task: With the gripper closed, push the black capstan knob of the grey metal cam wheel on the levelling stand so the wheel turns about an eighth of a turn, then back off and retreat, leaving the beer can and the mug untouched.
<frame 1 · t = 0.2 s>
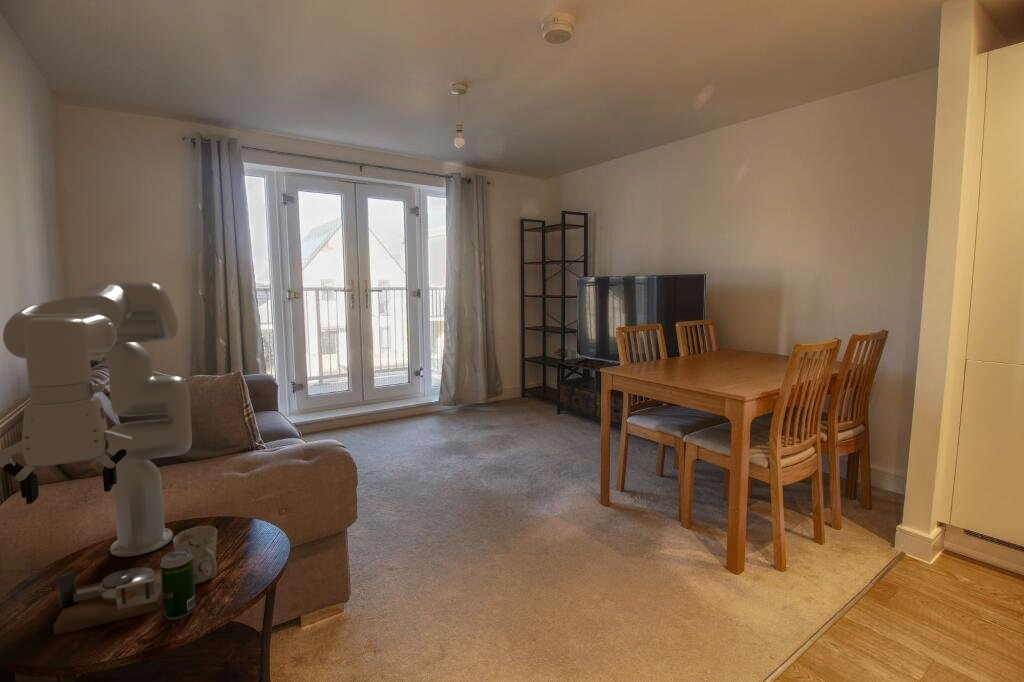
hand: (72, 494, 81), 31 cm above the table, tool pointing down, fingers open, 9 cm apart
mug: (203, 580, 110), on the table
beer can: (180, 612, 99), on the table
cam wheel: (107, 581, 100), point 5 cm above the table, hinge at 0.0°
levelling stand: (116, 603, 101), on the table
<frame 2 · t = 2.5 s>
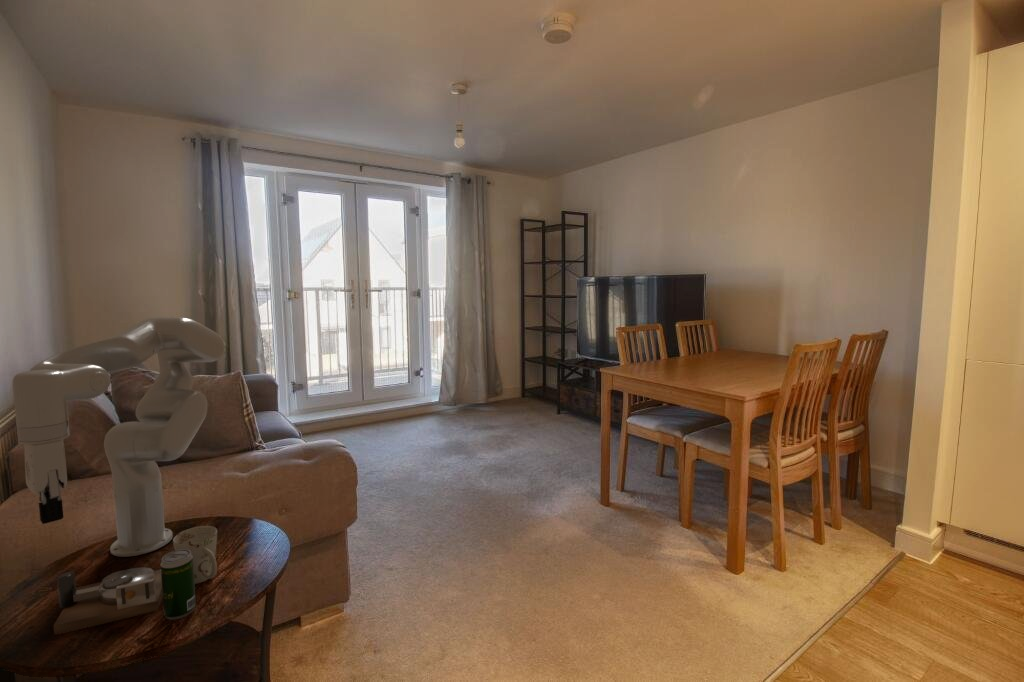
hand: (52, 520, 99), 18 cm above the table, tool pointing down, fingers closed
nothing on the table moved.
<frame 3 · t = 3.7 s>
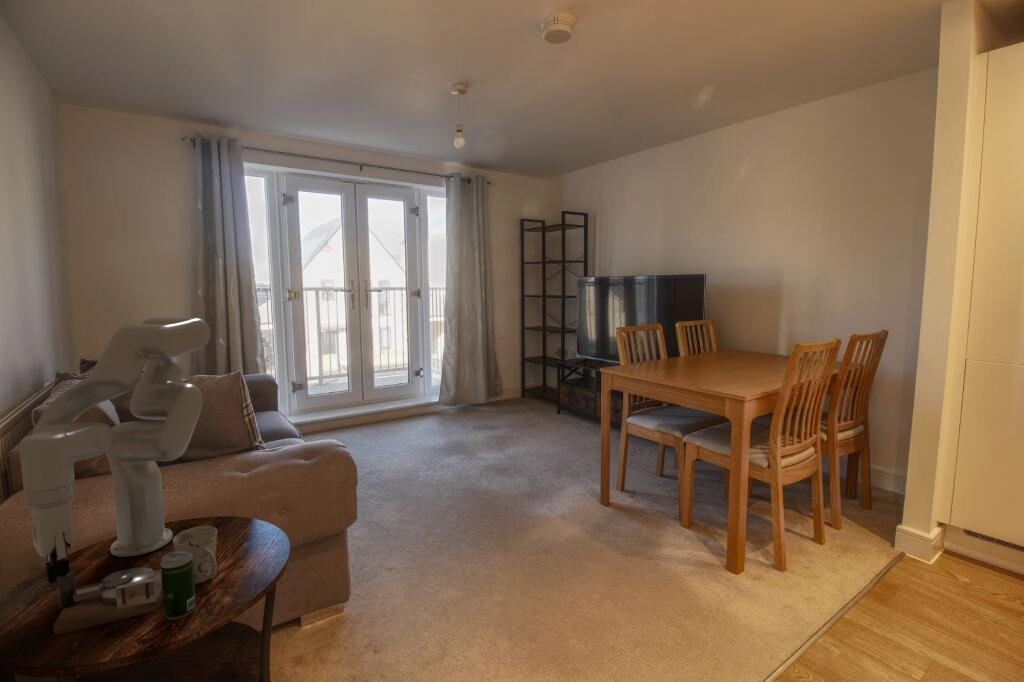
hand: (58, 578, 101), 5 cm above the table, tool pointing down, fingers closed
nothing on the table moved.
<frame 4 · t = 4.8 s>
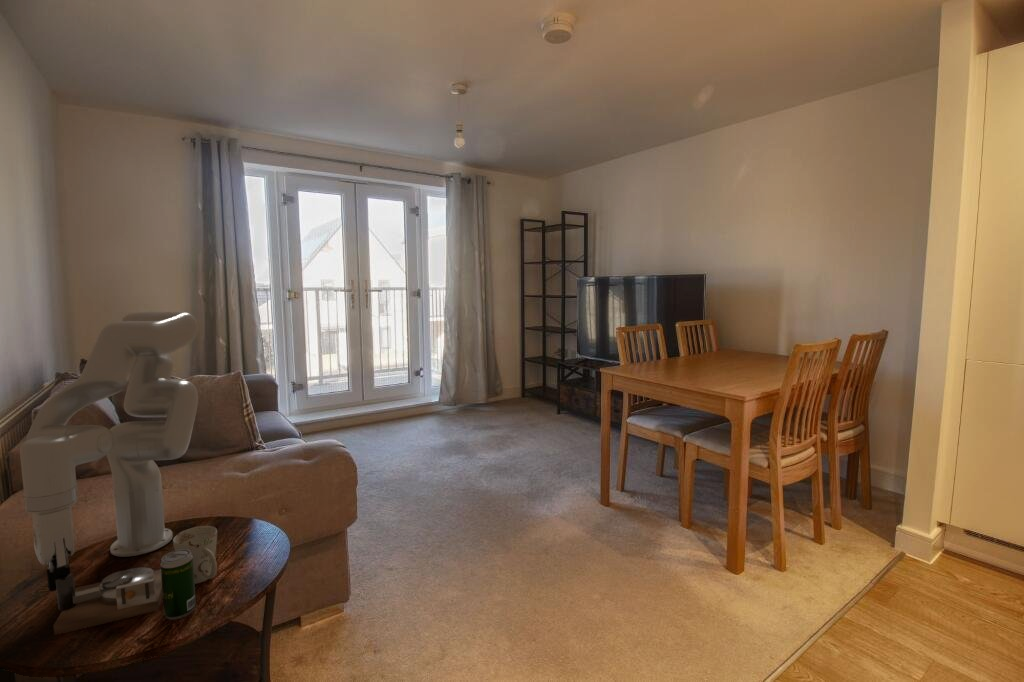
hand: (59, 586, 98), 5 cm above the table, tool pointing down, fingers closed
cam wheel: (107, 581, 100), point 5 cm above the table, hinge at 5.1°, touching gripper
everything else where it was.
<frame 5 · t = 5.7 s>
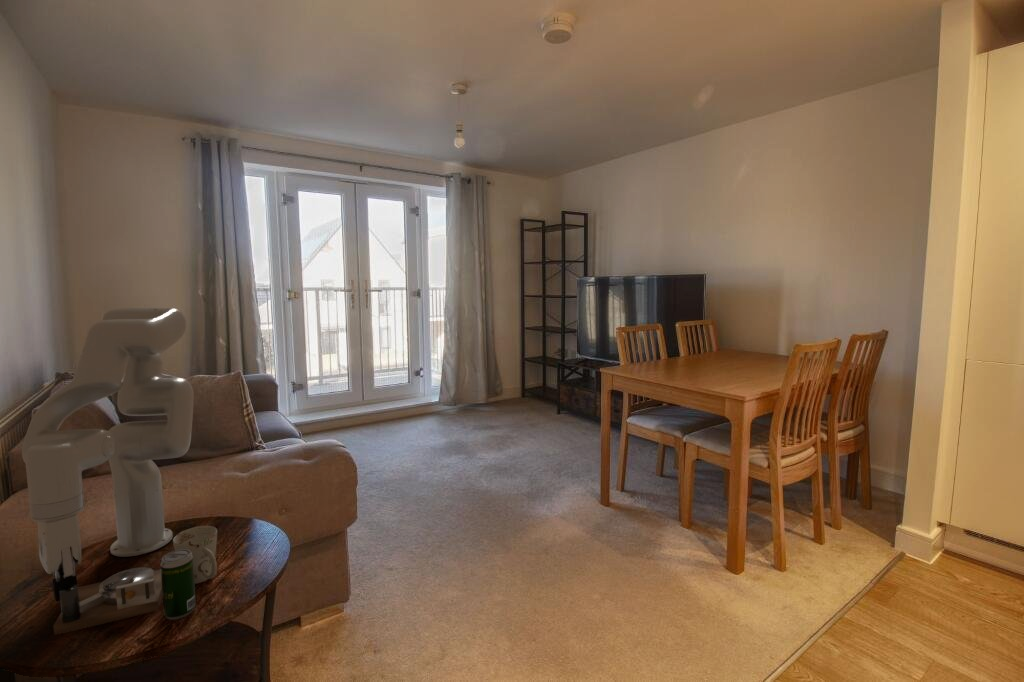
hand: (66, 596, 95), 5 cm above the table, tool pointing down, fingers closed
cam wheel: (109, 585, 99), point 5 cm above the table, hinge at 37.2°, touching gripper
everything else where it was.
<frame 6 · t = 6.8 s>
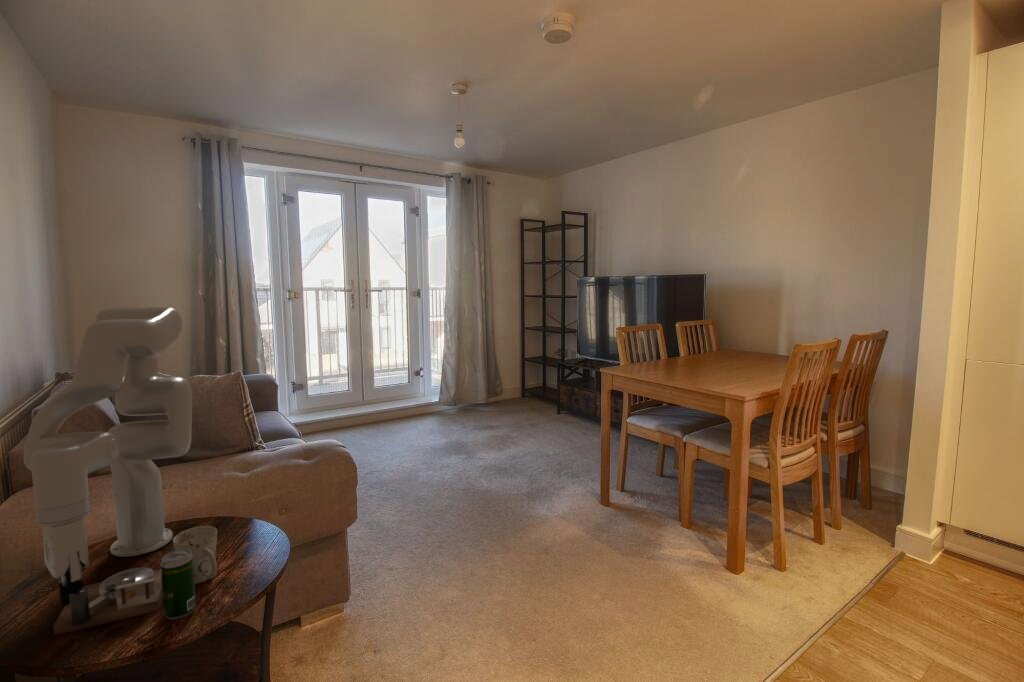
hand: (72, 600, 94), 5 cm above the table, tool pointing down, fingers closed
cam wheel: (112, 586, 98), point 5 cm above the table, hinge at 53.3°, touching gripper
everything else where it was.
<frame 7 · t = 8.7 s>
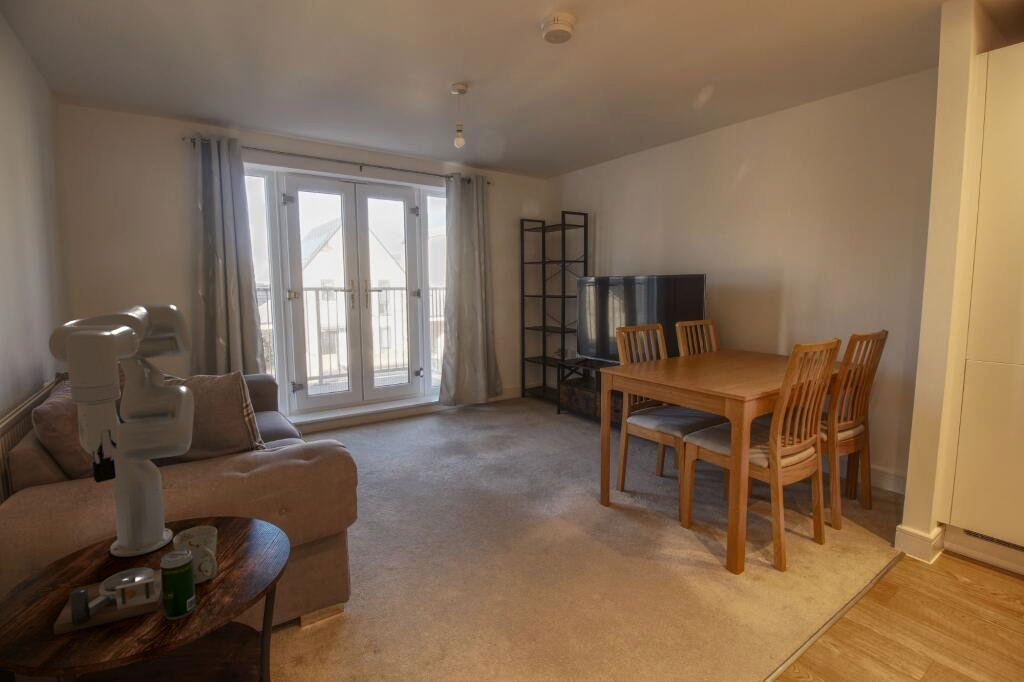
hand: (105, 479, 100), 26 cm above the table, tool pointing down, fingers closed
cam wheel: (112, 586, 98), point 5 cm above the table, hinge at 53.5°
everything else where it was.
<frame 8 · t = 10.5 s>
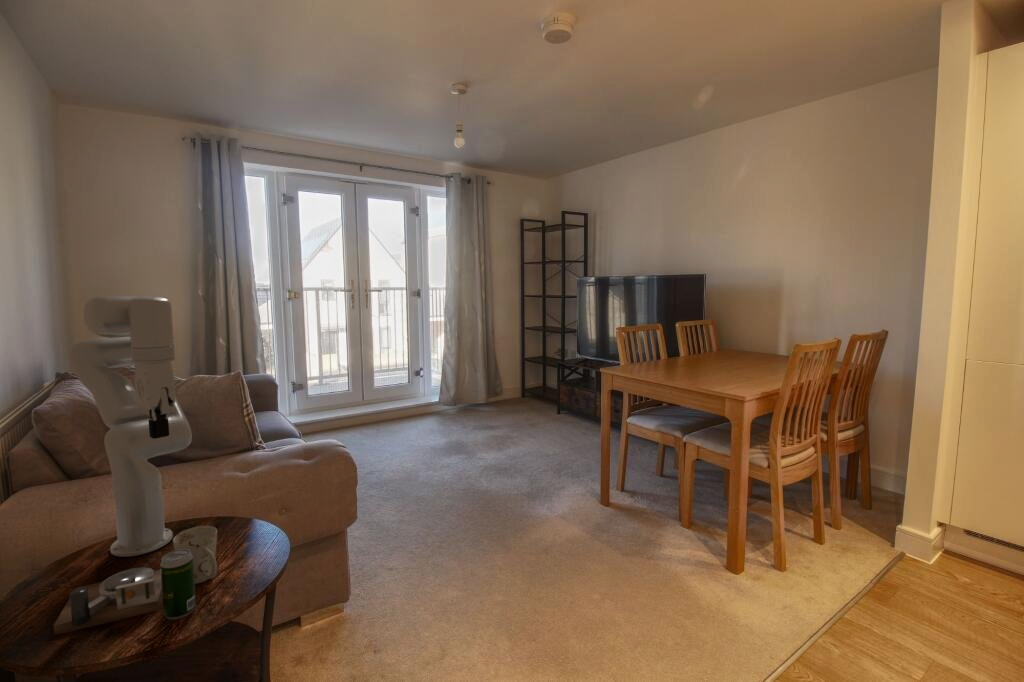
hand: (159, 436, 108), 32 cm above the table, tool pointing down, fingers closed
nothing on the table moved.
at the end: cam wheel at +54° (first picture: +0°); the gripper is holding nothing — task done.
